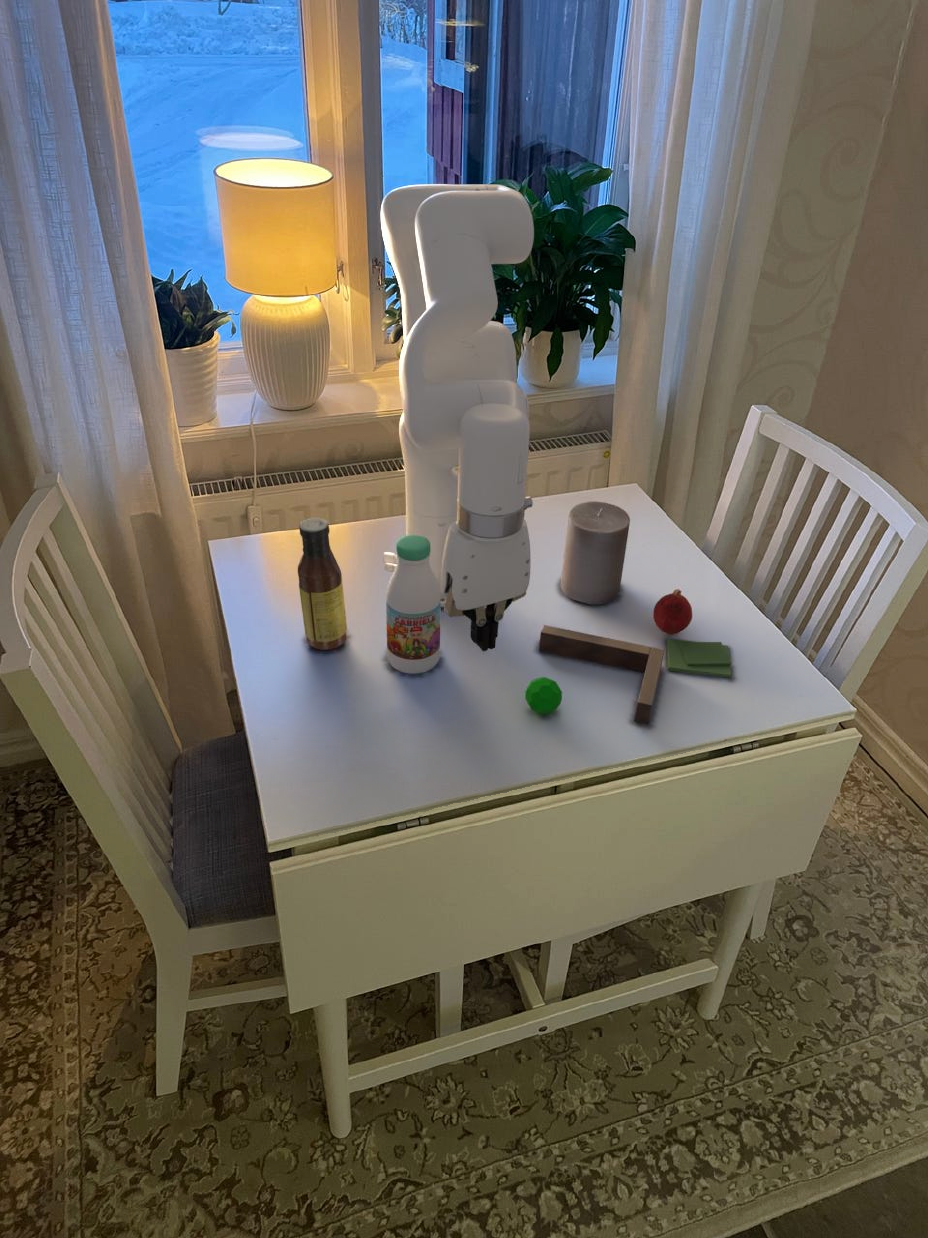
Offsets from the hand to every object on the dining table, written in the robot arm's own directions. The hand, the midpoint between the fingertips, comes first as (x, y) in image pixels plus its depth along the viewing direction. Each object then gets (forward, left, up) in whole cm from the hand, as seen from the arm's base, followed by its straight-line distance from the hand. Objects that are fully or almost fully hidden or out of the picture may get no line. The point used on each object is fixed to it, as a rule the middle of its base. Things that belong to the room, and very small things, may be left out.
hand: (483, 643), depth 116 cm
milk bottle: (-14, +12, -15) cm, 23 cm away
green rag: (+26, +26, -15) cm, 40 cm away
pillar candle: (+7, +39, -15) cm, 42 cm away
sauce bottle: (-28, +12, -15) cm, 33 cm away
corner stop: (+12, +15, -15) cm, 25 cm away
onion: (+21, +31, -15) cm, 40 cm away
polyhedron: (+7, +7, -15) cm, 18 cm away
